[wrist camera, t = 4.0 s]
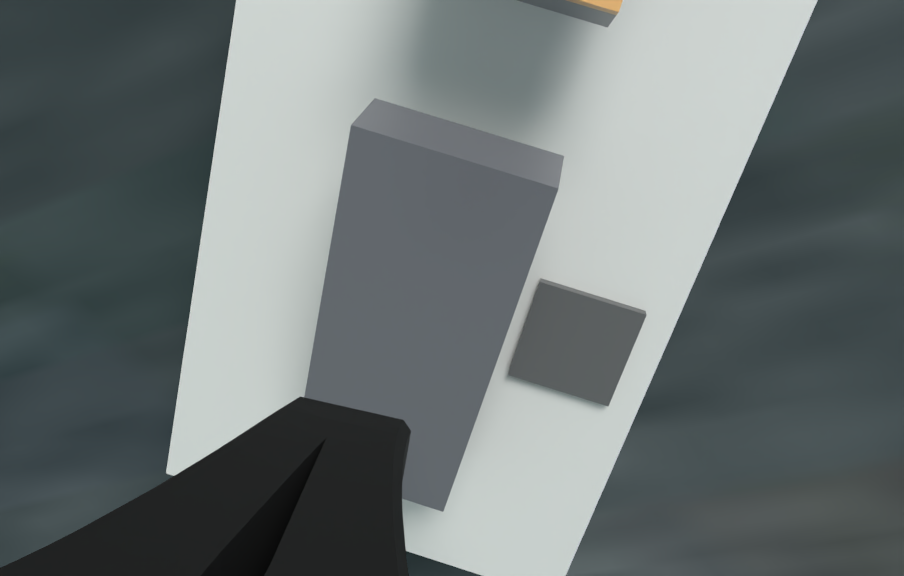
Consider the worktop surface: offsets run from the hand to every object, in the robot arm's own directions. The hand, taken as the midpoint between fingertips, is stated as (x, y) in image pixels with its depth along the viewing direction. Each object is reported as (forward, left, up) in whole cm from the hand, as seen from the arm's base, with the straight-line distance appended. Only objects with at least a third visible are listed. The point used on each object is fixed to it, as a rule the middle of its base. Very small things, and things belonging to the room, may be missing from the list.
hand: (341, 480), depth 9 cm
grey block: (0, 0, -4) cm, 4 cm away
